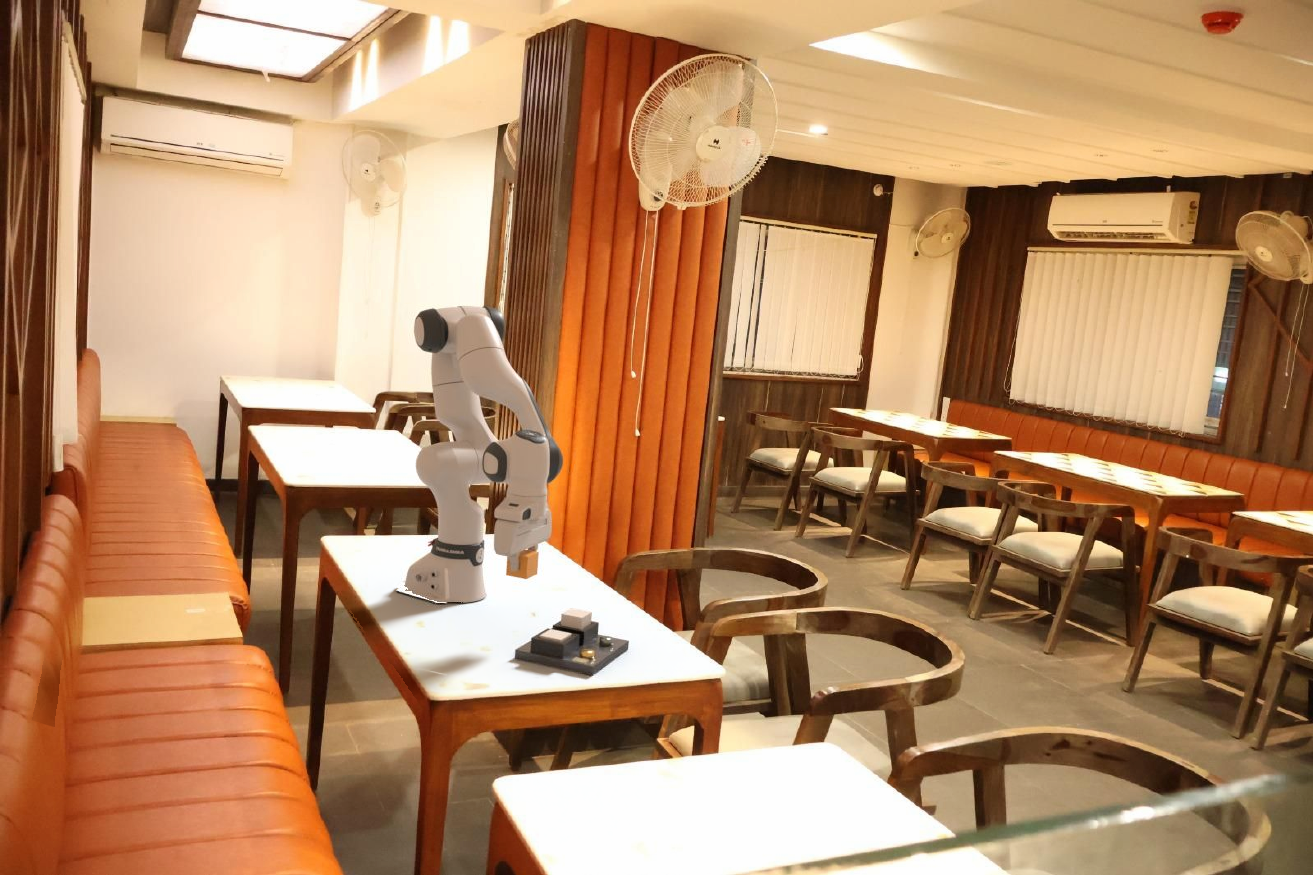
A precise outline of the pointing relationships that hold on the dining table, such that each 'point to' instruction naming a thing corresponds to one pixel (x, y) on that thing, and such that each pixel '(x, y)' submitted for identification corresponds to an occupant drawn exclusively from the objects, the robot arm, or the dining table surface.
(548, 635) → the block
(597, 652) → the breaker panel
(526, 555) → the block
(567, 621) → the block
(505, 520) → the robot arm
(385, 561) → the dining table surface
